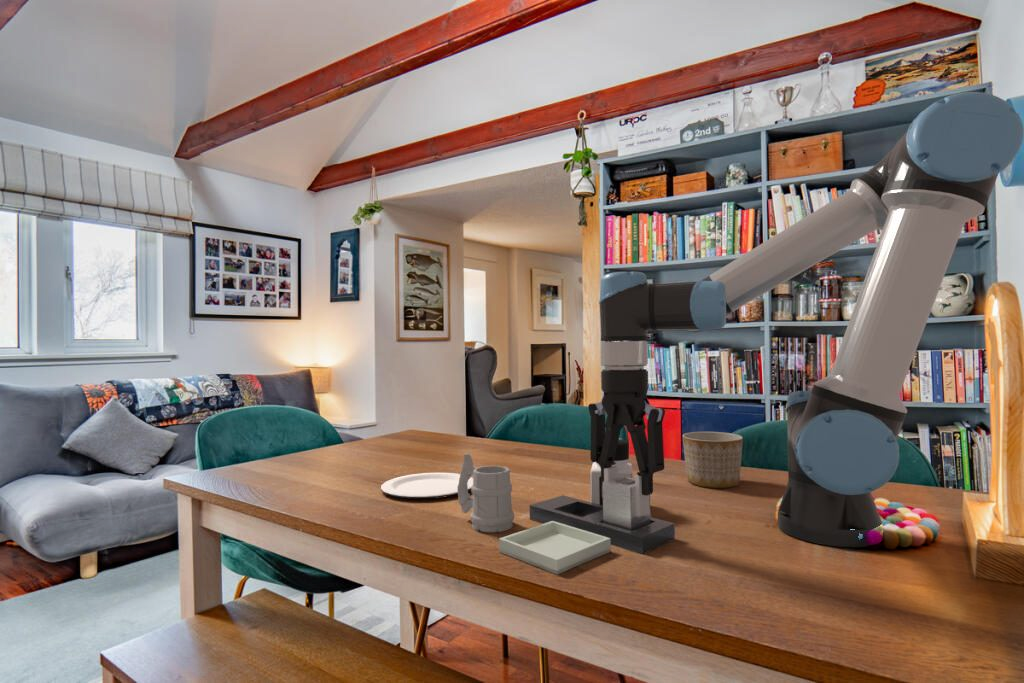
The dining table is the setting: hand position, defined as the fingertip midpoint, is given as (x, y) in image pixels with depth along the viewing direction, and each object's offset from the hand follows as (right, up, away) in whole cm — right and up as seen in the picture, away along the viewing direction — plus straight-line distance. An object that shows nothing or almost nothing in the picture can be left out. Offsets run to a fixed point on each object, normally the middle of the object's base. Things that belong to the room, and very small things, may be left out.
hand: (626, 510), depth 92 cm
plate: (-37, -6, +33) cm, 49 cm away
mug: (-24, -5, +8) cm, 25 cm away
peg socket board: (-4, -4, +4) cm, 7 cm away
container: (+1, -5, +17) cm, 18 cm away
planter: (+26, -4, +34) cm, 43 cm away
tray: (-12, -5, -6) cm, 14 cm away
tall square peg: (0, -4, 0) cm, 4 cm away
